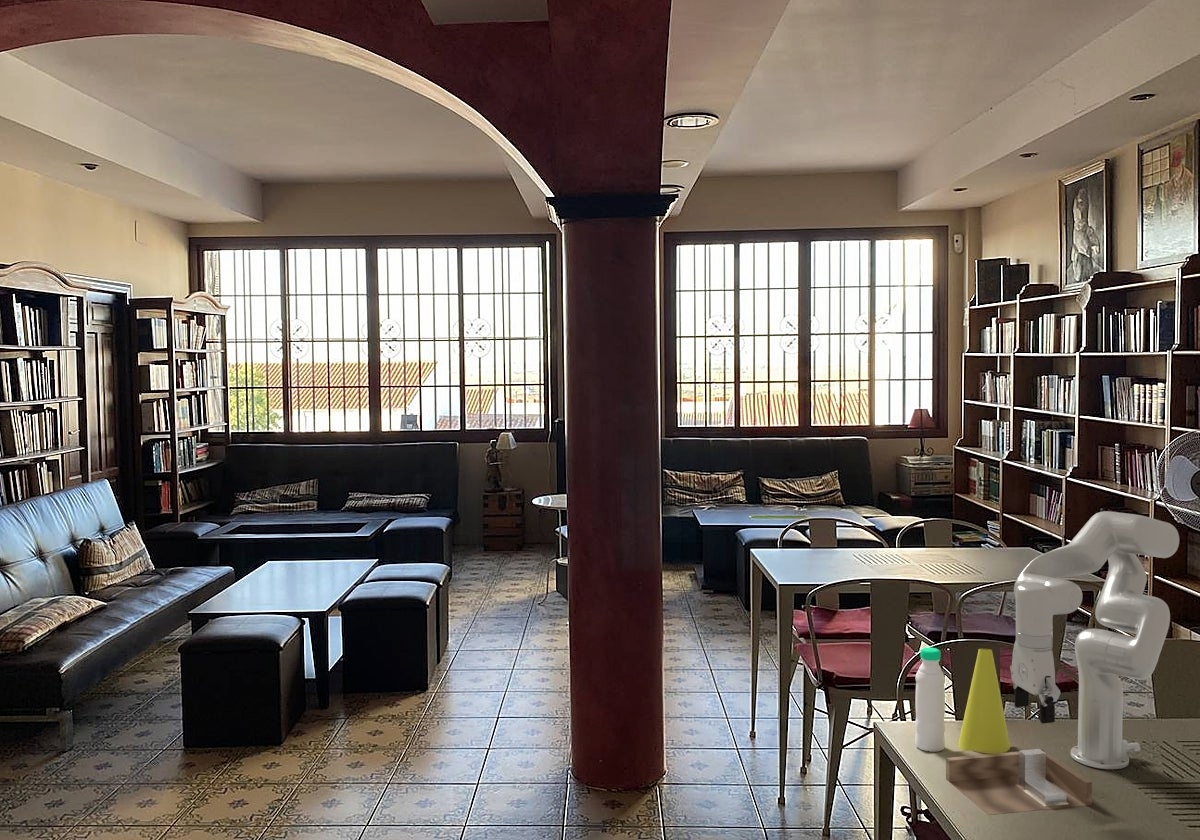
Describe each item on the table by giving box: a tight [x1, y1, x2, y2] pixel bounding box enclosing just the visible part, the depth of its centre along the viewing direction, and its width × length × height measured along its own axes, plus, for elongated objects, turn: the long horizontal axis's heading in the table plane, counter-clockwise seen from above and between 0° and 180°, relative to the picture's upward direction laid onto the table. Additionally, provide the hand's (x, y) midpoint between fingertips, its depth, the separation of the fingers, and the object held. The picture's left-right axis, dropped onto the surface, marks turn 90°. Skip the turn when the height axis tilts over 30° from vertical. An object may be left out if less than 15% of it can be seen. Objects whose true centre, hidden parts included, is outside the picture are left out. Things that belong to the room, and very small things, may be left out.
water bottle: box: [914, 646, 946, 753], centre depth 249 cm, size 7×7×25 cm
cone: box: [957, 648, 1011, 754], centre depth 248 cm, size 12×12×25 cm
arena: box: [945, 749, 1093, 816], centre depth 222 cm, size 24×18×6 cm
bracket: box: [1018, 748, 1067, 805], centre depth 220 cm, size 10×5×8 cm, turn 10°
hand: (1034, 714), depth 223 cm, fingers open, 9 cm apart
